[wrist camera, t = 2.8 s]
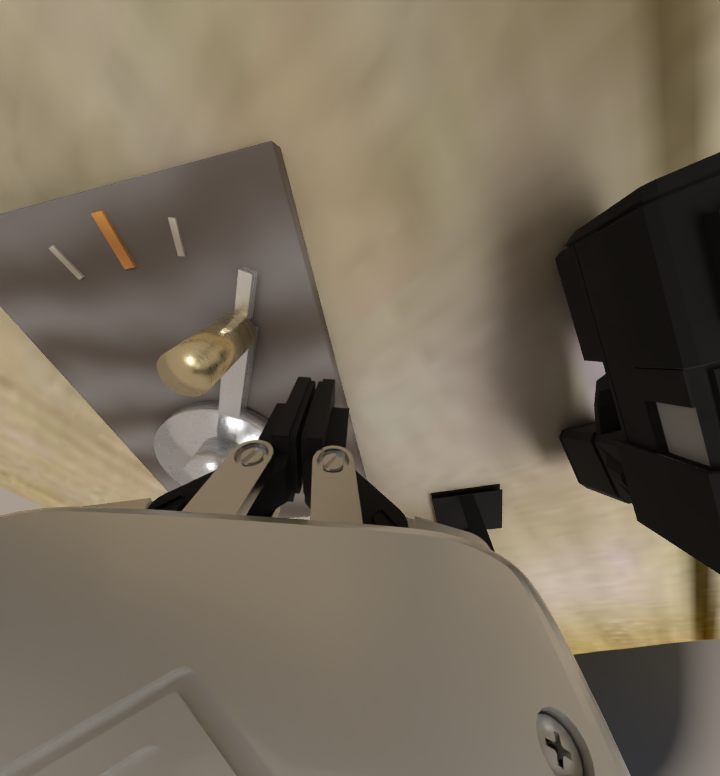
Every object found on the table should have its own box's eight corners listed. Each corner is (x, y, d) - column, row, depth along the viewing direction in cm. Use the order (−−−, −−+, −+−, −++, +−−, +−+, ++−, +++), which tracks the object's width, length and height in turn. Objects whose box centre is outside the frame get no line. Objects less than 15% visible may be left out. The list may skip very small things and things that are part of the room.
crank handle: (281, 502, 29) (258, 576, 23) (168, 475, 27) (110, 547, 21) (345, 302, 17) (331, 347, 11) (150, 230, 15) (6, 237, 9)
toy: (560, 480, 26) (750, 656, 11) (500, 281, 24) (630, 185, 10) (622, 467, 24) (927, 646, 10) (563, 256, 23) (824, 102, 8)
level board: (-35, 231, 17) (-130, 234, 14) (280, 147, 15) (253, 126, 11) (204, 513, 34) (186, 544, 31) (371, 499, 31) (371, 532, 28)
